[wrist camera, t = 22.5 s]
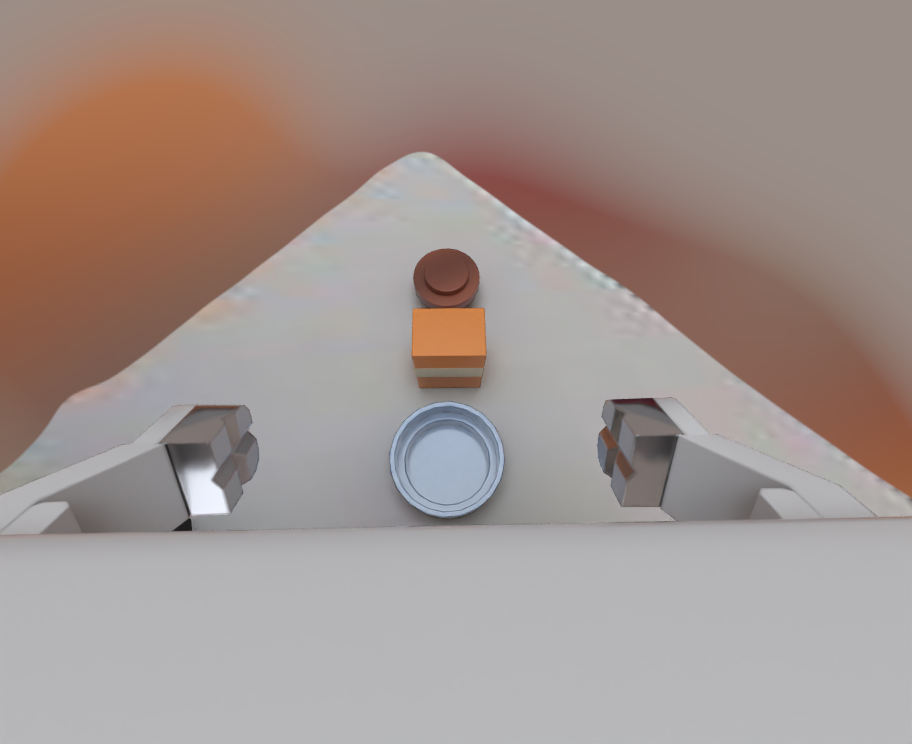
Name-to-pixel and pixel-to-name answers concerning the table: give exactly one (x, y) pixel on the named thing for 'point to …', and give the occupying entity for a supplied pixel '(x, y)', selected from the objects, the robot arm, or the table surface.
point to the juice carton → (449, 347)
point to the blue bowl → (447, 459)
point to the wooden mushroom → (446, 279)
